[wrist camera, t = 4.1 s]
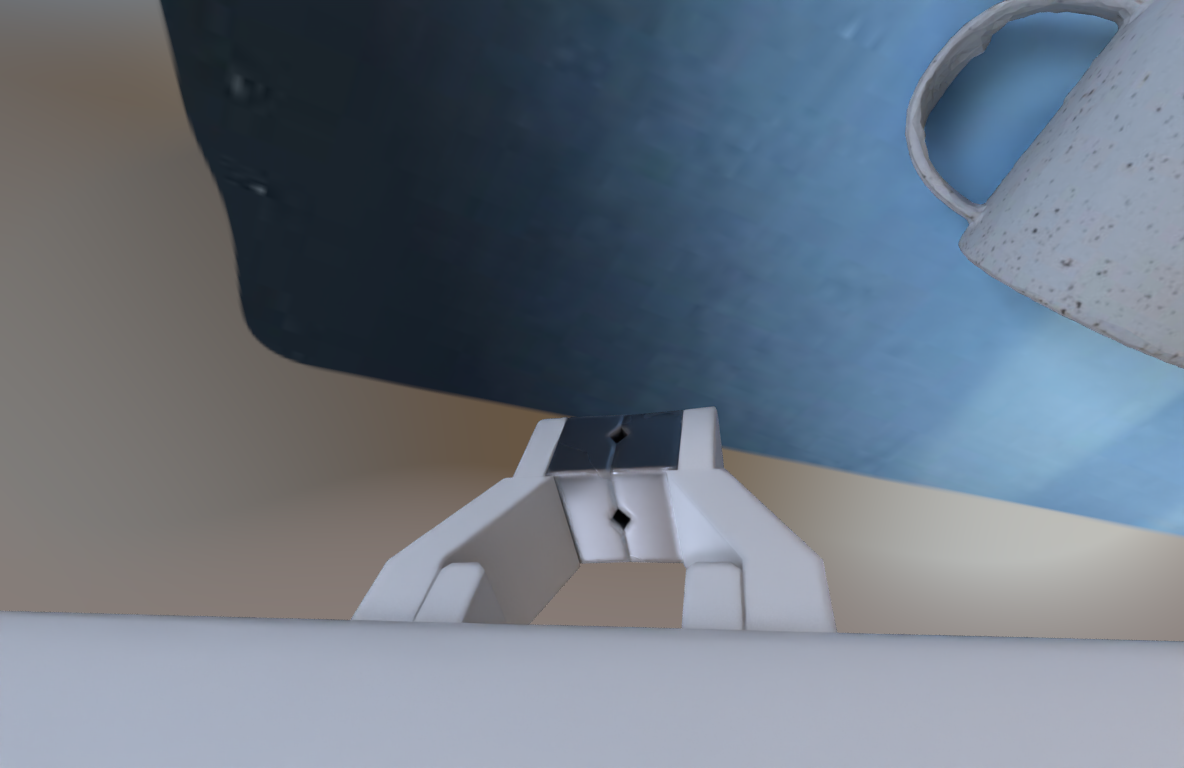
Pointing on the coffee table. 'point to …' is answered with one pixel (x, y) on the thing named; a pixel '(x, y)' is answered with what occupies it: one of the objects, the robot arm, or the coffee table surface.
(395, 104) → the coffee table surface
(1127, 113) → the ceramic mug
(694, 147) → the coffee table surface
